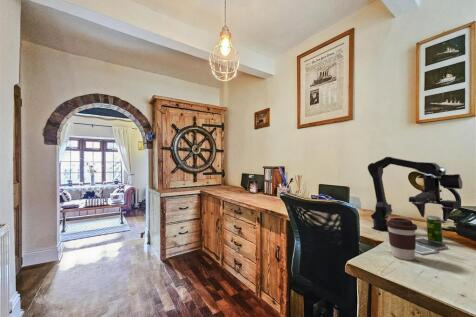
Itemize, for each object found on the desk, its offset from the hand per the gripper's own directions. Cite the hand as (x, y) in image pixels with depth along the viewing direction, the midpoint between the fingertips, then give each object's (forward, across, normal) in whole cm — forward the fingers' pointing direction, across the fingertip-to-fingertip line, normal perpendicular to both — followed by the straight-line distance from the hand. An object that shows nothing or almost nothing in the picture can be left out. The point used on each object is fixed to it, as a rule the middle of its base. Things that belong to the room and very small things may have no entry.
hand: (433, 219), depth 100 cm
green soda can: (+11, 0, 0) cm, 11 cm away
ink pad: (+11, +3, -9) cm, 14 cm away
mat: (+11, +5, -19) cm, 22 cm away
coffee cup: (+11, +9, -33) cm, 36 cm away
